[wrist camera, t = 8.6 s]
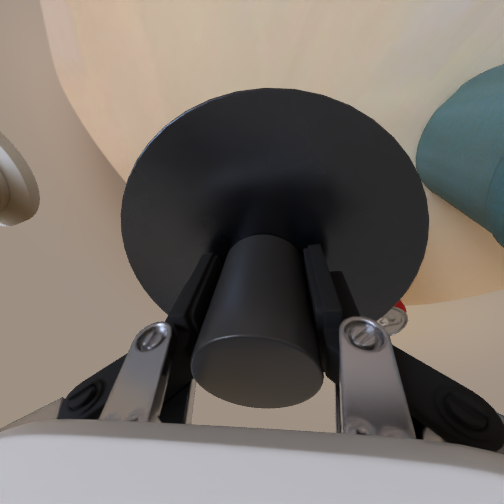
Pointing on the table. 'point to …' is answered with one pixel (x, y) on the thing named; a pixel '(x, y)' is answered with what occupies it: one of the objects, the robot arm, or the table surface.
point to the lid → (272, 229)
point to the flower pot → (469, 151)
